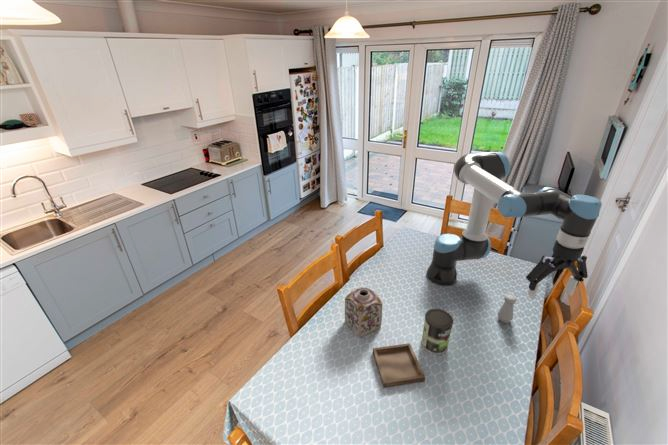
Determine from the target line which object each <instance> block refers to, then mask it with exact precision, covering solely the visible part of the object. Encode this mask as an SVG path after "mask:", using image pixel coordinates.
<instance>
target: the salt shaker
mask: <svg viewBox="0 0 668 445" xmlns="http://www.w3.org/2000/svg"><path fill="white" fill-rule="evenodd" d="M516 303H517V298H516V296H514V295H513V294H510V293H509V294H506V295H505V296H504V302H503V303H502V305H501V307H500V308H499V310H498V312H497V318H498V321H499V322H500V323H502V324H509V322H512V320H513V318H514V308H515V306H514V305H515V304H516Z"/></svg>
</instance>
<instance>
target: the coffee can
mask: <svg viewBox="0 0 668 445" xmlns="http://www.w3.org/2000/svg"><path fill="white" fill-rule="evenodd" d="M453 325H454V318H453V316H452V315H451V314H450V313H449V312H448V311H447V310H444V309H441V308H430V309H428V310H427V311H426V312H425V314H424V323H423V330H422V335H421V346H422V347H423V349H424V350H426V352H429V353H430V354H433V355H443V354H445V352H447V350H448V348H449V342H450V337H451V334H452V333H451V332H452V329H453Z"/></svg>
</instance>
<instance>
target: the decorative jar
mask: <svg viewBox="0 0 668 445" xmlns="http://www.w3.org/2000/svg"><path fill="white" fill-rule="evenodd" d="M382 318H383V302H382V300H381V299H380V297H379V296H378V294H377V293H376V292H375V291H374V290H373V289H372V288H368V287H361V286H359V287H357V288H355V289H351V291H350V292H349V293H348V294H347V295H346V296H345V298H344V321H345V323H346V324H347V325H348V326H349V328H350V329H351V330H352V331H353V332H354V333H355V335H356V336H357V337H358V338H362V337H364V336H366V335H368V334H370V333H372V332H374V331H375V330H378V329H381V327H382V323H383V322H382V321H383V319H382Z"/></svg>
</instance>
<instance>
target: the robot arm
mask: <svg viewBox="0 0 668 445" xmlns="http://www.w3.org/2000/svg"><path fill="white" fill-rule="evenodd" d="M510 162H511V161H510V160H509V158H508V156H507V155H506V154H505V153H504V152H502V151H488V152H486V151H485V152H472V153H470V152H469V153H466V154H463V155H462V156H461V157H459V158H458V159H457V161H456V162H455V164H454V168H453V172H454V175H455V177H456V178H457V180H458V181H459V182H460V183H462V184H464V185H470V186H471V187H473V188H474V189H473V192H472V197H471V198H472V199H471V202H470V203H471V204H470V209H469V214H468V220H467V225H466V228H465V229H463V231H462V233H461V236H460V237H459V236H458V235H457V234H455V233H454V234H452V233H443V234H440V235H438V236H437V237H436V239H435V241H434V244H433V253H432V259H431V263H430V264H429V266H428V268H427V270H426V277H427V279H428V280H429V281H430V282H432V283H434V284H436V285H439V286H442V287H443V286H446V287H449V286H452V285H455V283H457V280H458V271H457V262H459V261H460V262H461V261H470V260H481V259H484V258H485V259H486V258H487V257H488V256H489V255H490V252H491V249H492V245H491V240H490V238H489V236H488V234H487V233H486V231H487V227H488V222H489V218H490V213H491V209H492V205H493V203H495V204H497V210H498V212H500V213H499V214H500V215H501V216H502V217H504V218H507V219H508V218H509V219H510V218H512V219H518V218H525V217H533V216H535V217H536V216H545V215H546V216H547V215H550V216H553V217H555V218H558V220H560V221H561V225H560V227H559V231H558V233H557V235H556V239H555V242H554V245H553V248H552V254H551V256H547V255H545V254H544V255H542V256H541V259H540V260H539V262H538V263H537V264H536V265H535V266H534V267H533V269H532V270H530V272H528V274H527V275H526V276H525V279H526V280H527V281H528V282H529V286H528V291H527V295H528V296H529V298H530V299H532V300H535V299H536V297H537V293H538V291H539V289H540V286H541V283H540V282H542V281H543V280H545V278H546V277H548V276H549V275H551V274H552V273H553V272H557V271H558V270H562V269H565V270H566V269H569V271H570V272H571V274H572V275H570V276H569V278H568V280H567V283H566V285H565V288H564V290H563V291H564V293H566V294H567V295H568V296H569V297H573V295H574V292H575V290H576V288H577V287H578V285H579V282H582V283H583V282H584V280H585V279H587V278H589V276H588V268H587V259H588V256H586V254H584V250H585V246H586V244H587V242H588V240H589V237H590V235H591V232H592V229H593V228H594V225H595V224H596V221H597V219H598V218H599V215H600V213H601V212H600V211H601V208H602V201H601V200H600V199H598V198H597V197H595V196H590V195H587V194H575V195H573V196H571V195H569V194H568V193H565V192H563V191H561V190H560V189H558V188H555V187H551V186H545V187H543V188H541V189H539V190H538V191H536V192H526V193H525V192H522V191H520V190H519V189H517V188H516V187H513V186H512V185H510V184H508V183H506V182H504V181H503V180H502V179H505V178H507V177H508V176H509V175H510V171H511V163H510ZM575 263H576V264H577V266H576V264H575Z"/></svg>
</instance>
